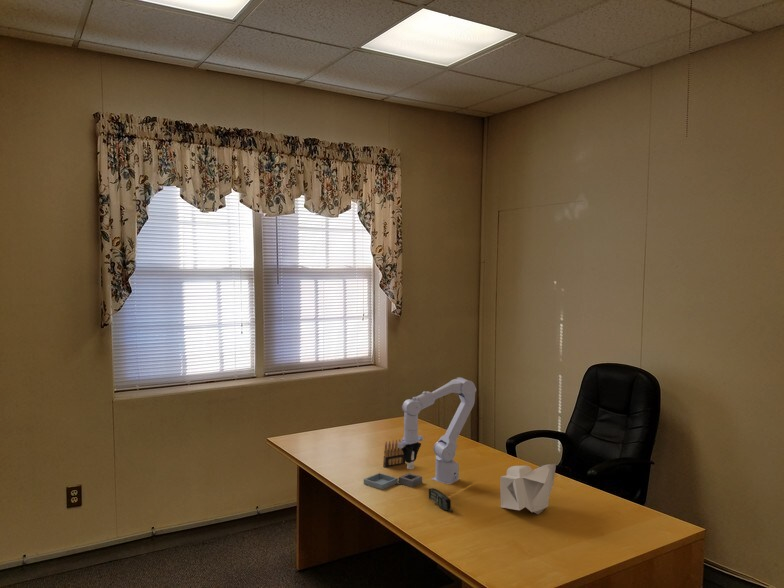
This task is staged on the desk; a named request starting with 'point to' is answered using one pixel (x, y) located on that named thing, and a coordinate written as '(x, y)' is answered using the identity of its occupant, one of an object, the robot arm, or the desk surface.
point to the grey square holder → (410, 480)
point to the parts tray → (380, 481)
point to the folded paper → (527, 487)
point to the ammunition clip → (393, 455)
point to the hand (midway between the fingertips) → (410, 461)
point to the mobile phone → (440, 499)
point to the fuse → (411, 465)
